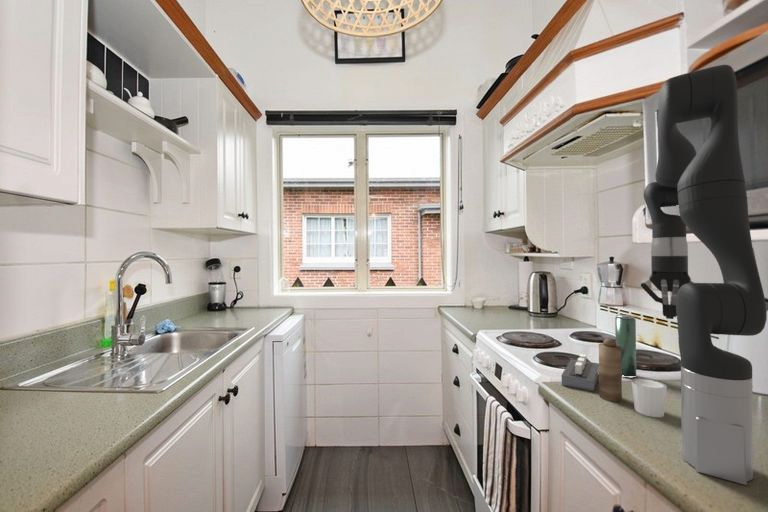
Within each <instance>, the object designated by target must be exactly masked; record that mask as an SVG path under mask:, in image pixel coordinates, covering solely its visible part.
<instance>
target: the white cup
mask: <svg viewBox="0 0 768 512" xmlns="http://www.w3.org/2000/svg"><path fill="white" fill-rule="evenodd" d="M630 382H631V388H632V389H631V390H632V399H633V405H634V406H633V407H634V410H635V411H636V412H637V413H639V414H641V415H644V416H647V417H652V418H663V417H664V416H665V409H666V402H667V401H666V399H667V392H668V386H667V385H666V384H665V383H662V382H660V381H657V380H653V379H648V378H631V381H630Z"/></svg>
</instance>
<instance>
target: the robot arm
mask: <svg viewBox="0 0 768 512" xmlns="http://www.w3.org/2000/svg"><path fill="white" fill-rule="evenodd" d="M736 76H737V75H736V73H735V70H734V68H733V67H732V66H731V65H729V64H719V65H715V66H714V65H713V66H710V67H707V68H703V69H698V70H694V71H690V72H687V73H683V74H679V75H676V76H673V77H670V78H668V79H666V80H665V81H664V83H663V84H662V86H661V88H660V91H659V95H658V104H657V139H658V159H657V163H656V170H655V177H654V178H655V180H656V181H652V182H650V183H649V184H647V185H646V186H645V187H644V189H643V193H642V194H643V195H642V196H643V199H644V202H645V205H646V208H647V209H648V212H649V215H650V219H651V221H650V222H651V227H652V228H651V229H652V230H651V231H652V232H651V233H652V235H651V237H652V240H651V246H650V248H651V251H650V255H651V256H650V258H651V259H650V260H651V261H650V263H651V273H650V275H649V278H648V280H646V281H644V282H641V283H640V287H641V288H642V289H643V290H644V292H646V293H647V294H648V295H649V296H650V297H651V298H652V300H653V301H654V302H656V303H660V304H661V305H662V315H663V317H665V318H666V319H668V320H670V319H671V320H674V318H676V322H677V323H676V324H677V333H678V334H677V335H678V337H677V339H678V349H679V354H680V355H679V356H680V389H681V390H680V396H681V397H680V398H681V399H680V401H681V402H680V403H681V404H680V407H681V408H680V410H681V412H680V413H681V414H680V415H681V416H680V417H681V430H680V431H681V456H682V458H683V460H684V461H685V462H686V463H688V464H689V465H690V466H692V467H694V469H695V471H696V472H698V473H701V474H705V475H708V476H712V477H716V478H719V479H723V480H727V481H730V482H733V483H737V484H741V485H745V486H747V485H748V484H747V483H748V482H749V481H752V480H753V479H754V435H753V434H754V428H753V425H754V422H753V420H754V418H753V413H754V412H753V405H754V404H753V403H754V401H753V392H754V391H753V390H754V389H753V365H752V363H751V361H750V360H749V359H747V358H746V357H744V356H741V355H739V354H737V353H733V352H730V351H726V350H724V349H721V348H719V347H717V346H715V345H714V344H713V342H712V341H713V340H712V336H711V335H722V336H724V335H726V336H747V337H748V336H751V337H752V336H756V335H759V334H760V333H762V331H763V330H764V329H765V326H766V323H767V318H768V317H767V315H768V314H767V302H766V298H765V292H764V289H763V286H762V285H763V284H762V281H761V276H760V273H759V269H758V266H757V261H756V258H755V253H754V249H753V243H752V237H751V227H750V219H749V206H748V205H749V204H748V195H747V194H748V193H747V187H746V186H747V185H746V180H745V175H744V174H745V173H744V167H743V163H742V162H743V161H742V156H741V155H742V154H741V149H740V140H739V120H738V119H739V113H738V106H739V105H738V83H737V77H736ZM706 118H707V119H708V118H709V119H710V121H711V122H710V123H711V125H710V130H709V132H708V135H707V137H706V139H705V141H704V142H703V143H702V146H701V147H700V149H699V151H698V152H697V150H696V148H695V146H694V145H693V144H692V143H691V141H690V140H689V139H687V137H686V136H684V134H682V133H681V131H680V130H679V128H678V127H677V124H681V123H686V122H692V121H696V120H701V119H706ZM676 205H679V206H678V211H679V215H680V216H679V215H678V214H669V213H666V212H664V211H663V210H662V208H668V207H669V208H671V207H677V206H676ZM687 229H688V230H690V232H691V233H692V234H693V235H694V236H695V237H696V238H697V239H698V240H699V241H701V243H703V245H705V247H706V248H707V249H708V251H709V252H711V253H712V255H713V257H714V258H715V260H716V261H717V263H718V266H719V270H720V271H721V275H722V276H721V277H722V281H723V283H722V282H719V283H718V282H694V281H693V280H692V278H691V276H690V275H689V247H688V241H687ZM652 284H653V285H652ZM653 286H654V287H655V288H656V289H657V290H659V291H660V293H661V297H659V296H658V295H657V294H656V293H655V292H654V291H653V290H652V288H653ZM669 292H670V301H669Z"/></svg>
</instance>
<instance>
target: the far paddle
mask: <svg viewBox="0 0 768 512" xmlns="http://www.w3.org/2000/svg"><path fill="white" fill-rule="evenodd" d="M587 356H588V355H587V353H586V354H585V353H580V354H579V358H585V365H586V363H587V362H588V361H587Z"/></svg>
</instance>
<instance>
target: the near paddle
mask: <svg viewBox="0 0 768 512" xmlns="http://www.w3.org/2000/svg"><path fill="white" fill-rule="evenodd" d="M582 372H583V363H580V362H576V364H575V373H576V374H582Z"/></svg>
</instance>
